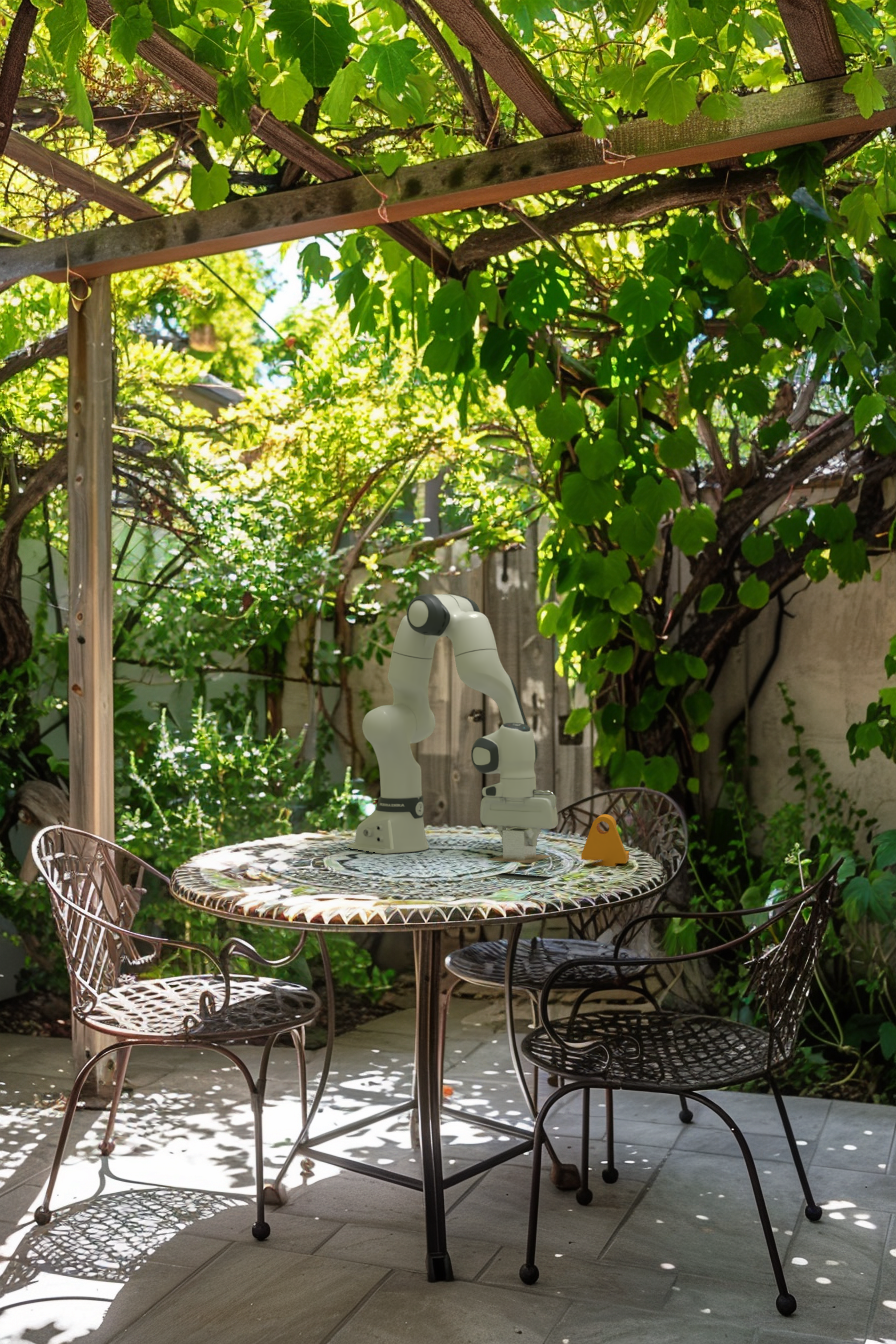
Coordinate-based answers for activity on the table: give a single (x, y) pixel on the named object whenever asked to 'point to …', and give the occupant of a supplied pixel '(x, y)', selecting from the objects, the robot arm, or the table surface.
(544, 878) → the mat
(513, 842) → the white box
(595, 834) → the bracket
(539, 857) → the post board
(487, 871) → the table surface
